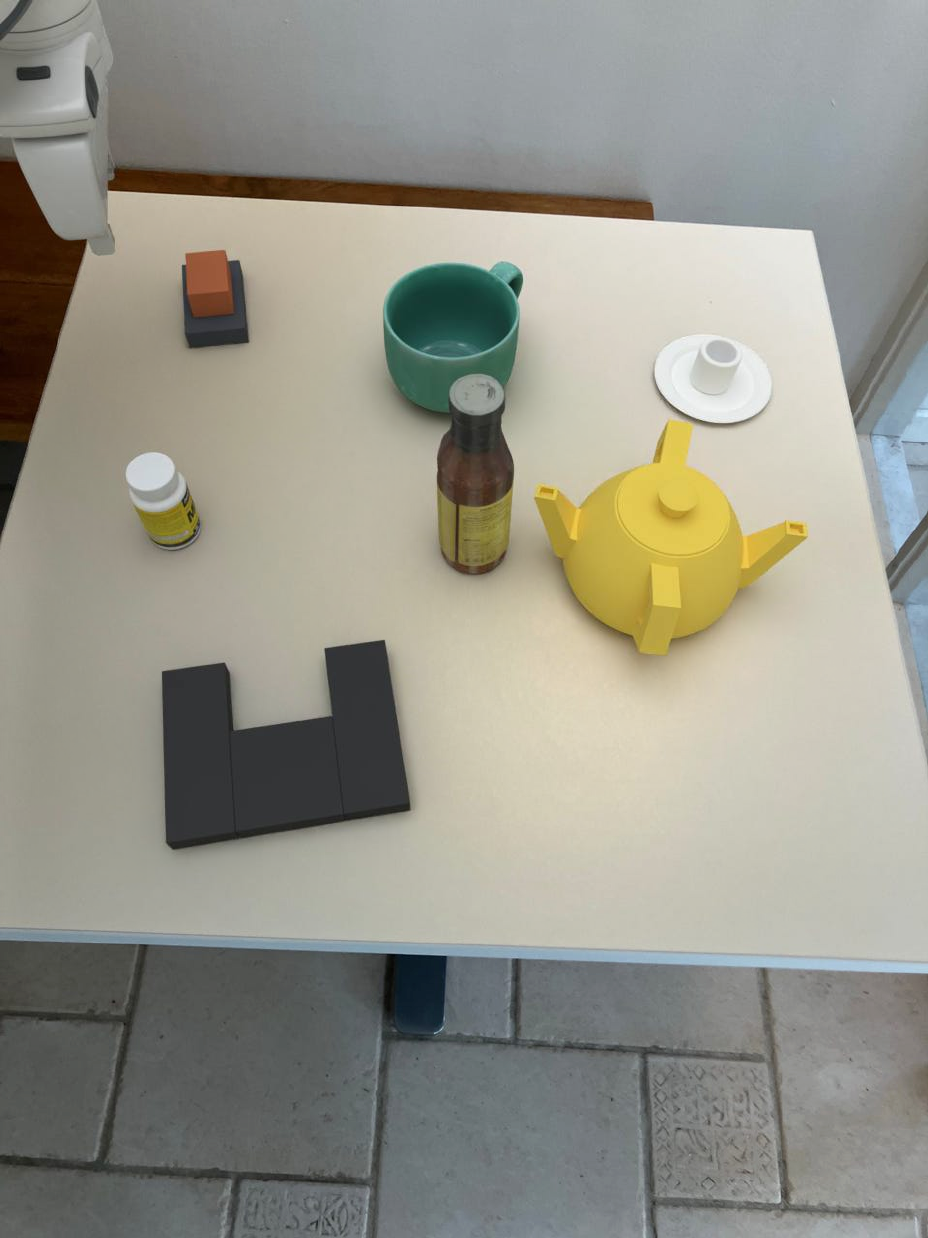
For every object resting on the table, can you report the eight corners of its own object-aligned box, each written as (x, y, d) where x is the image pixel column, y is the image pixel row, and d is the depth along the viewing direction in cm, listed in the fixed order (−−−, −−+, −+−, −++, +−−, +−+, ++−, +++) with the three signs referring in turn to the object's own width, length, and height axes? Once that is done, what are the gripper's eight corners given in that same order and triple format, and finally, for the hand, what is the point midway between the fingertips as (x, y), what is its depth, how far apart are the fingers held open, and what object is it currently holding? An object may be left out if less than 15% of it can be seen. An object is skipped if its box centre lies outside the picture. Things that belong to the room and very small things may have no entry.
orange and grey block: (189, 348, 90) (177, 309, 86) (186, 279, 95) (174, 240, 90) (249, 342, 91) (240, 304, 86) (242, 274, 95) (234, 235, 91)
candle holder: (774, 352, 93) (789, 321, 89) (764, 439, 87) (779, 409, 84) (661, 329, 94) (671, 296, 90) (644, 412, 88) (654, 382, 85)
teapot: (655, 469, 85) (687, 380, 74) (778, 593, 79) (833, 516, 68) (516, 552, 80) (530, 470, 69) (637, 692, 74) (672, 625, 63)
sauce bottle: (519, 539, 81) (545, 385, 63) (485, 589, 78) (502, 443, 60) (457, 507, 82) (466, 348, 64) (421, 556, 79) (421, 404, 62)
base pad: (172, 850, 66) (165, 843, 64) (167, 681, 73) (161, 670, 71) (410, 810, 68) (410, 803, 67) (385, 649, 75) (384, 639, 73)
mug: (449, 451, 85) (452, 381, 77) (360, 380, 89) (353, 306, 80) (562, 362, 91) (576, 288, 83) (473, 299, 95) (478, 223, 87)
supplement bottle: (207, 542, 79) (185, 485, 72) (154, 557, 78) (126, 501, 71) (194, 501, 81) (171, 441, 74) (143, 515, 80) (114, 456, 73)
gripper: (4, -35, 67) (69, 137, 79) (-13, 131, 58) (64, 298, 70) (90, -40, 68) (141, 132, 80) (87, 124, 59) (145, 290, 71)
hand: (105, 211), depth 75 cm, fingers open, 8 cm apart
